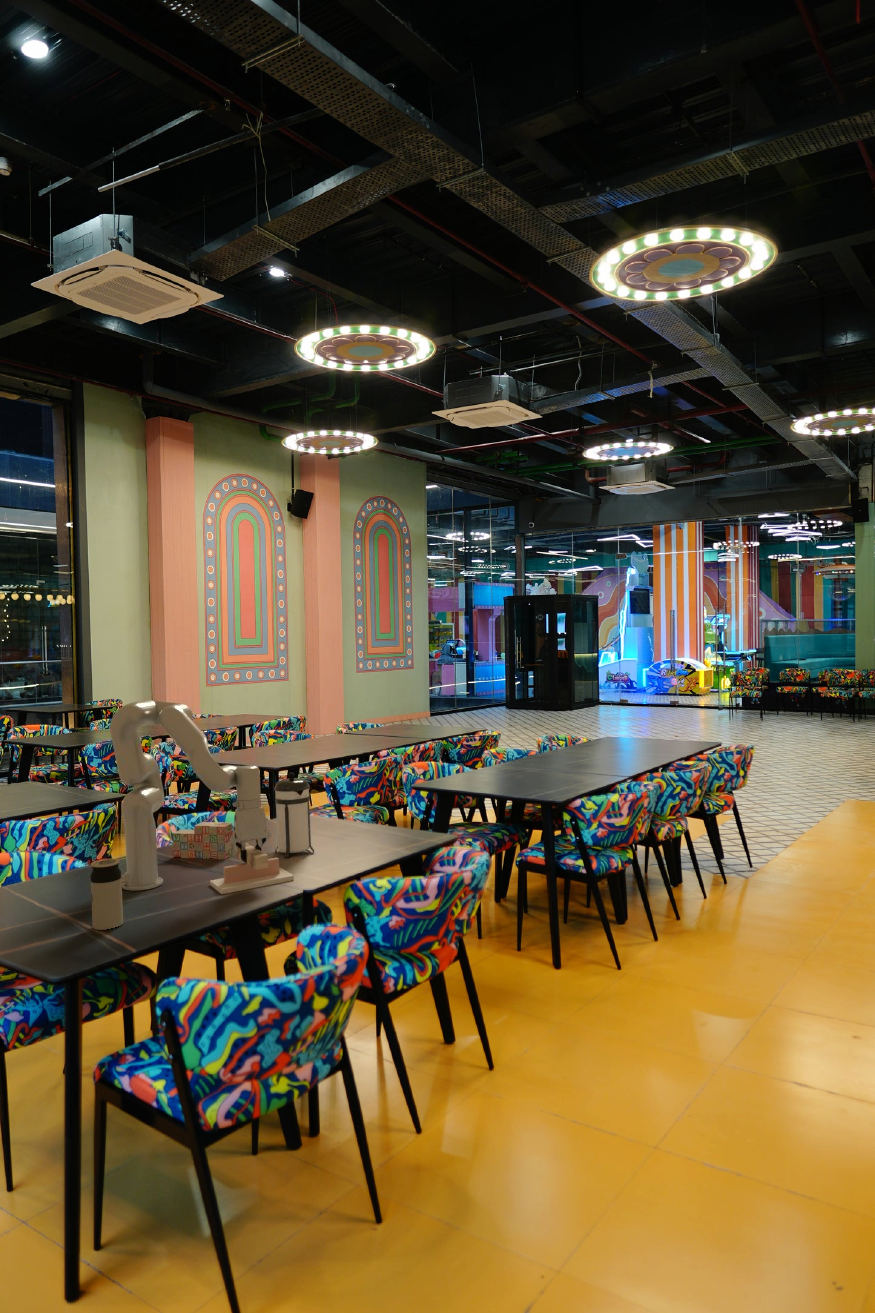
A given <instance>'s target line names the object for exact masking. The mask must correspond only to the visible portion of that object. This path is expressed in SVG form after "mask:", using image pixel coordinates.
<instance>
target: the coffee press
mask: <svg viewBox="0 0 875 1313" xmlns="http://www.w3.org/2000/svg"><path fill="white" fill-rule="evenodd" d="M295 776H296V775H295V773H294V772H289V773H288V778H284V779H281V780H278V781H277V782H276V783H275V786H274V788H273V789H274V791H275V792H274V793H275V797H274V798H275V800H274V801H275V808H276V810H275V811H276V834H277V836H276V837H277V839H276V840H277V847H276V848H275V850H274V853H275V854H279V853H280V852H282V853H285V855H284V856H285V859H291V856H292V854H295V853H302V852H307V853H309V854H310V855H312V854H315V850H314V848H313V846H312V840H311V839H312V836H311V835H312V834H311V815H310V814H311V812H310V800H311V799H310V792H309V790H310V784H309V783H308V781H307V780H306V779H304V778H299V777H295ZM309 849H310V850H311V851H310V850H309ZM277 850H279V851H277Z"/></svg>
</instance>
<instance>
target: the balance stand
mask: <svg viewBox="0 0 875 1313" xmlns="http://www.w3.org/2000/svg"><path fill="white" fill-rule="evenodd" d="M222 871H223V877H222V878H217V879H210V880H209V885H210V886H211V887H212V888H213V889H214V890H216V891H217V892H218V893H219V894H220V895H223V894H224V895H225V894H229V893H236V892H239V891H245V890H249V889H255V888H260V887H265V886H271V885H276V884H281V883H287V882H292V881H294V880H295V875H294V874H292V873H290V872H289V871H287V870H285V869H284V868H282V867H280V858H279V857H273V858H268V868H263V869H257V870H256V869H254V868H253V867H251V866H249V865H248V864H246V863H245V862H244V863H239V864H232V865H227V866H223V868H222ZM291 880H292V881H291Z"/></svg>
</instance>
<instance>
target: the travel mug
mask: <svg viewBox="0 0 875 1313" xmlns="http://www.w3.org/2000/svg"><path fill="white" fill-rule="evenodd" d="M120 863H121V862H120V859H119V858H105V859H104V858H102V859H98V860H95V861H93V862H91V863H90V867H91V868H92V872H91V874H90V876H89V877H90V889H91V890H90V894H91V896H90V897H91V898H90V899H91V915H92V916H91V918H92V919H91V921H92V928H93V929H94V930H98V931H108V930H107V929H109V930H112V929H111V928H113V929H116V928H115V927H117V928H119V927H121V926H122V925H123V924H124V907H123V888H122V884H123V883H122V882H121V877H122V871H121V869H120V868H119V865H120ZM118 926H119V927H118Z"/></svg>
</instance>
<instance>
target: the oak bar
mask: <svg viewBox="0 0 875 1313" xmlns="http://www.w3.org/2000/svg"><path fill="white" fill-rule="evenodd" d="M234 848H235V857H236V858H237V859H239V860H240V861H242V860H241V854H240V848H238V847H237V846H236V845H234ZM245 849H246V850H247V852H246V853H247V862H244V863H246V864H248V865H249V866H251V867H253V868H254V869H256V870H257V869H263V868H268V859H269V856H268V855H269V854H267V853H265V852H263V850H261V851H260V850H258V849H256V848H255V846H253V845H252V844H250V843H248V842H246V846H245Z"/></svg>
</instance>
